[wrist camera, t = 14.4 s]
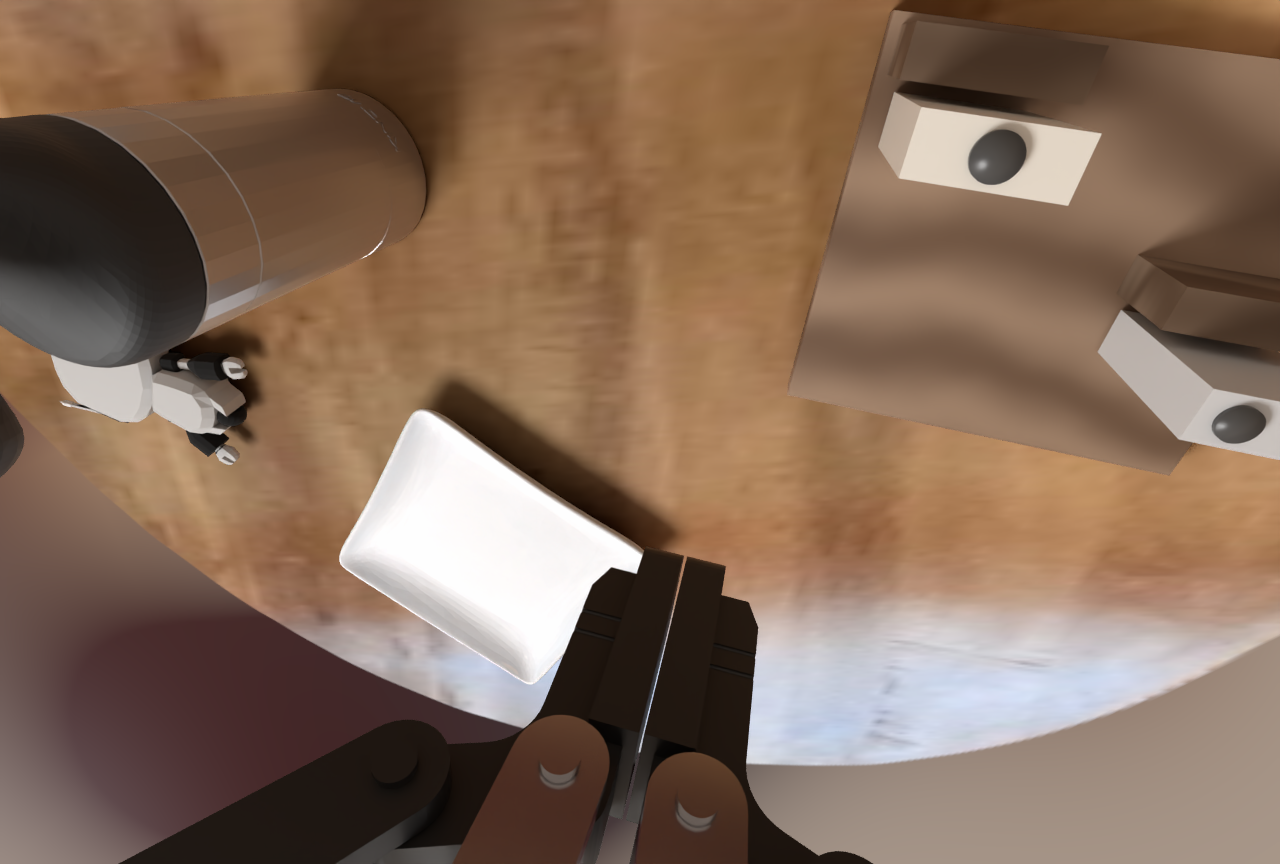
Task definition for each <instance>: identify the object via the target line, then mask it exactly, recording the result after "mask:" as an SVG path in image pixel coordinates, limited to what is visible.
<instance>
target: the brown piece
mask: <svg viewBox="0 0 1280 864" xmlns="http://www.w3.org/2000/svg"><path fill="white" fill-rule="evenodd" d="M894 92H899V93H906V94H913V95H919V96H926V97H933V98H940V99H947V100H954V101H961V102H968V103H975V104H982V105H989V106H996V107H1002V108H1009V109H1016V110H1023V111H1029V112H1032V113H1035V114H1039V115H1042V116H1045V117H1049V118H1052V119H1055V120H1059V121H1062V122H1065V123H1069V124H1072V125H1075V126H1079V127H1082V128H1085V129H1089V130H1092V131H1095V132H1099V133H1102V134H1101V137H1100V139H1099V141H1098V143H1097V145H1096V147H1095V149H1094V151H1093V154H1092V156H1091V158H1090V160H1089V162H1088V164H1087V166H1086V169H1085V171H1084V173H1083V175H1082V177H1081V179H1080V181H1079V184H1078V186H1077V188H1076V190H1075V192H1074V194H1073V196H1072V199H1071V201H1070V203H1069V205H1068V206H1066V205H1060V204H1054V203H1048V202H1041V201H1035V200H1029V199H1023V198H1017V197H1011V196H1004V195H998V194H992V193H986V192H980V191H974V190H967V189H961V188H955V187H949V186H943V185H937V184H930V183H924V182H918V181H912V180H906V179H900V178H898V177H897V175H896V174H895V172H894V170H893V169H892V167H891V166H890V164H889V163H888V161H887V160H886V158H885V157H884V155H883V153H882V152H881V150H880V149H879V147H878V145H879V142H880V139H881V135H882V132H883V128H884V125H885V122H886V118H887V115H888V111H889V108H890V105H891V101H892V98H893V95H894ZM1121 310H1125V311H1131V312H1136V313H1141V314H1142V315H1143V316H1145V317H1146V318H1147V319H1148V320H1150V321H1151V322H1152V323H1153V324H1155V325H1156V326H1157V327H1158V328H1159V329H1161V330H1164V331H1169V332H1175V333H1180V334H1186V335H1191V336H1197V337H1202V338H1208V339H1213V340H1219V341H1224V342H1229V343H1235V344H1240V345H1246V346H1251V347H1257V348H1262V349H1268V350H1273V351H1279V352H1280V59H1274V58H1266V57H1258V56H1250V55H1243V54H1235V53H1227V52H1219V51H1211V50H1204V49H1196V48H1188V47H1180V46H1172V45H1164V44H1157V43H1149V42H1141V41H1133V40H1125V39H1118V38H1110V37H1102V36H1094V35H1086V34H1078V33H1071V32H1063V31H1055V30H1047V29H1039V28H1031V27H1024V26H1016V25H1008V24H1000V23H992V22H985V21H977V20H969V19H961V18H953V17H945V16H938V15H930V14H922V13H914V12H906V11H899V10H893V11H891V13H890V17H889V20H888V24H887V27H886V31H885V35H884V38H883V42H882V46H881V49H880V53H879V56H878V60H877V64H876V67H875V71H874V75H873V78H872V82H871V85H870V89H869V93H868V96H867V100H866V104H865V107H864V111H863V114H862V118H861V122H860V125H859V129H858V133H857V136H856V140H855V143H854V147H853V151H852V154H851V158H850V162H849V165H848V169H847V172H846V176H845V180H844V183H843V187H842V191H841V194H840V198H839V202H838V205H837V209H836V212H835V216H834V220H833V223H832V227H831V231H830V234H829V238H828V241H827V245H826V249H825V252H824V256H823V260H822V263H821V267H820V270H819V274H818V278H817V281H816V285H815V289H814V292H813V296H812V299H811V303H810V307H809V310H808V314H807V318H806V321H805V325H804V328H803V332H802V336H801V339H800V343H799V347H798V350H797V354H796V357H795V361H794V365H793V368H792V372H791V376H790V379H789V383H788V393H787V395H790V396H795V397H800V398H804V399H809V400H814V401H818V402H823V403H828V404H833V405H837V406H842V407H847V408H852V409H856V410H861V411H866V412H871V413H875V414H880V415H885V416H889V417H894V418H899V419H904V420H908V421H913V422H918V423H923V424H927V425H932V426H937V427H942V428H946V429H951V430H956V431H960V432H965V433H970V434H975V435H979V436H984V437H989V438H994V439H998V440H1003V441H1008V442H1013V443H1017V444H1022V445H1027V446H1032V447H1036V448H1041V449H1046V450H1050V451H1055V452H1060V453H1065V454H1069V455H1074V456H1079V457H1084V458H1088V459H1093V460H1098V461H1103V462H1107V463H1112V464H1117V465H1121V466H1126V467H1131V468H1136V469H1140V470H1145V471H1150V472H1155V473H1159V474H1164V475H1170V474H1171V473H1172V471H1173V470H1174V468H1175V467H1176V466H1177V464H1178V463H1179V461H1180V460H1181V459H1182V457H1183V456H1184V454H1185V453H1186V451H1187V450H1188V449H1189V447H1190V446H1191V444H1192V443H1193V442H1189V441H1184V440H1179V439H1178V438H1177V437H1176V436H1175V435H1174V434H1173V433H1172V432H1171V431H1170V430H1169V429H1168V427H1167V426H1166V425H1165V424H1164V423H1163V422H1162V421H1161V420H1160V419H1159V418H1158V417H1157V416H1156V415H1155V413H1154V412H1153V411H1152V410H1151V409H1150V408H1149V407H1148V406H1147V405H1146V404H1145V403H1144V402H1143V401H1142V399H1141V398H1140V397H1139V396H1138V395H1137V394H1136V393H1135V392H1134V391H1133V390H1132V389H1131V388H1130V387H1129V386H1128V384H1127V383H1126V382H1125V381H1124V380H1123V379H1122V378H1121V377H1120V376H1119V375H1118V374H1117V373H1116V372H1115V370H1114V369H1113V368H1112V367H1111V366H1110V365H1109V364H1108V363H1107V362H1106V361H1105V360H1104V359H1103V358H1102V356H1101V355H1100V354H1099V353H1098V350H1099V348H1100V347H1101V345H1102V343H1103V341H1104V339H1105V338H1106V336H1107V334H1108V332H1109V331H1110V329H1111V327H1112V325H1113V323H1114V322H1115V320H1116V318H1117V316H1118V314H1119V313H1120V311H1121Z"/></svg>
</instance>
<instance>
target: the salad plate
mask: <svg viewBox="0 0 1280 864" xmlns="http://www.w3.org/2000/svg"><path fill="white" fill-rule="evenodd" d="M643 552H644V550H643V549H642V548H641V547H640V546H638V545H637V544H636V543H634V542H633V541H631V540H629V539H628V538H626V537H625V536H623V535H622V534H620V533H618V532H616V531H615V530H613V529H611V528H610V527H608V526H606V525H605V524H603V523H601V522H600V521H598V520H596V519H594V518H593V517H591V516H590V515H588V514H586V513H585V512H583V511H581V510H580V509H578V508H577V507H575V506H574V505H572V504H570V503H569V502H567V501H566V500H564V499H563V498H561V497H560V496H558V495H556V494H555V493H553V492H552V491H550V490H549V489H547V488H546V487H544V486H543V485H541V484H540V483H538V482H537V481H535V480H534V479H533V478H531V477H530V476H528V475H527V474H525V473H524V472H522V471H521V470H519V469H518V468H516V467H515V466H513V465H512V464H511V463H509V462H508V461H506V460H505V459H504V458H502V457H501V456H499V455H498V454H497V453H495V452H494V451H492V450H491V449H490V448H488V447H487V446H485V445H484V444H483V443H481V442H480V441H479V440H477V439H476V438H475V437H473V436H472V435H471V434H469V433H468V432H467V431H465V430H464V429H463V428H461V427H460V426H459V425H457V424H456V423H455V422H453V421H452V420H450V419H449V418H447V417H446V416H444V415H442V414H440V413H438V412H436V411H433V410H429V409H418V410H416V411H415V412H414V413H413V414H412V415H411V416H410V418H409V420H408V421H407V423H406V425H405V427H404V429H403V431H402V433H401V435H400V437H399V439H398V441H397V443H396V446H395V448H394V450H393V452H392V454H391V456H390V458H389V461H388V463H387V465H386V467H385V469H384V471H383V473H382V475H381V477H380V479H379V481H378V483H377V485H376V487H375V489H374V491H373V493H372V495H371V497H370V499H369V501H368V503H367V505H366V507H365V508H364V510H363V512H362V514H361V515H360V517H359V519H358V521H357V523H356V524H355V526H354V528H353V529H352V531H351V533H350V535H349V536H348V538H347V540H346V541H345V543H344V545H343V547H342V549H341V552H340V557H339V560H340V564H341V565H342V566H343V567H344V568H345V569H346V570H348V571H349V572H351V573H352V574H354V575H355V576H357V577H358V578H360V579H361V580H363V581H364V582H366V583H367V584H369V585H370V586H372V587H374V588H375V589H377V590H378V591H380V592H381V593H383V594H384V595H386V596H388V597H389V598H391V599H392V600H394V601H395V602H397V603H399V604H400V605H402V606H403V607H405V608H406V609H408V610H409V611H411V612H413V613H414V614H416V615H417V616H419V617H420V618H422V619H424V620H425V621H427V622H428V623H430V624H431V625H433V626H435V627H436V628H438V629H439V630H441V631H442V632H444V633H446V634H447V635H449V636H450V637H452V638H453V639H455V640H457V641H458V642H460V643H461V644H463V645H465V646H466V647H468V648H469V649H471V650H473V651H474V652H476V653H477V654H479V655H480V656H482V657H484V658H486V659H487V660H489V661H490V662H492V663H493V664H495V665H497V666H498V667H500V668H502V669H503V670H505V671H506V672H508V673H509V674H511V675H513V676H514V677H516V678H517V679H519V680H521V681H522V682H524V683H526V684H534V683H536V682H537V681H538V680H539V679H541V678H542V677H543V676H544V675H545V674H546V673H547V672H548V671H549V669H550V668H551V667H552V666H553V665H554V664H555V663H556V662H557V661H558V660H559V659H560V658H561V657H562V656H563V654H564V653H565V650H566V648H567V645H568V643H569V641H570V638H571V636H572V633H573V632H574V629H575V626H576V623H577V621H578V618H579V616H580V613H582V609H583V606H584V604H585V601H586V599H587V596H588V594H589V591H590V589H591V586H592V584H593V583H594V582H596V581H597V580H598V579H599V578H600V577H601V576H602V575H603V574H604V573H606V572H607V571H608V570H609V569H610V568H611V567H613V568H617V569H620V570H624V571H628V572H632V573H636V574H637V571H638V568H639V565H640V561H641V558H642V555H643Z"/></svg>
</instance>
